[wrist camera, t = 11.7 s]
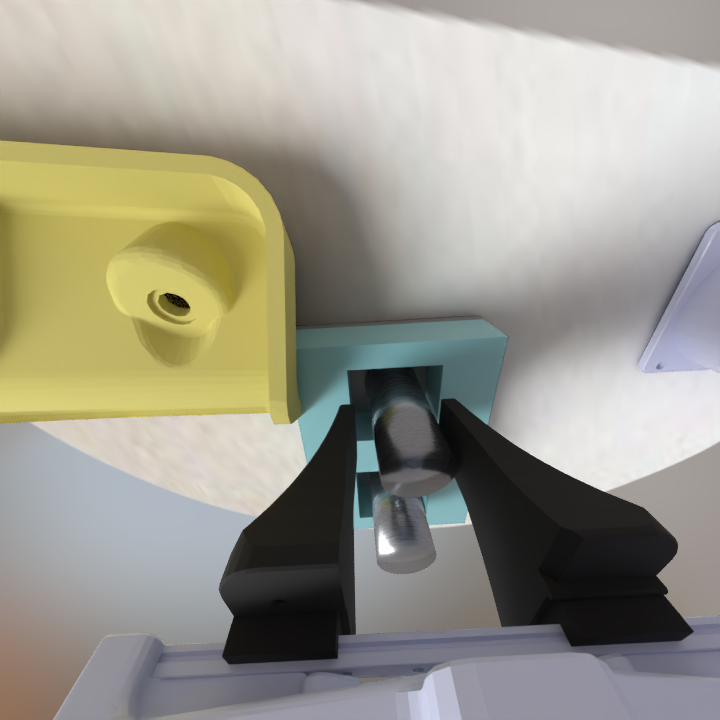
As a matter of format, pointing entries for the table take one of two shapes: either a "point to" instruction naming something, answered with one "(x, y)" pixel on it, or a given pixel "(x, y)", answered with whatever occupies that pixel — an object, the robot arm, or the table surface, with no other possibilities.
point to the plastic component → (141, 287)
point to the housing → (393, 350)
